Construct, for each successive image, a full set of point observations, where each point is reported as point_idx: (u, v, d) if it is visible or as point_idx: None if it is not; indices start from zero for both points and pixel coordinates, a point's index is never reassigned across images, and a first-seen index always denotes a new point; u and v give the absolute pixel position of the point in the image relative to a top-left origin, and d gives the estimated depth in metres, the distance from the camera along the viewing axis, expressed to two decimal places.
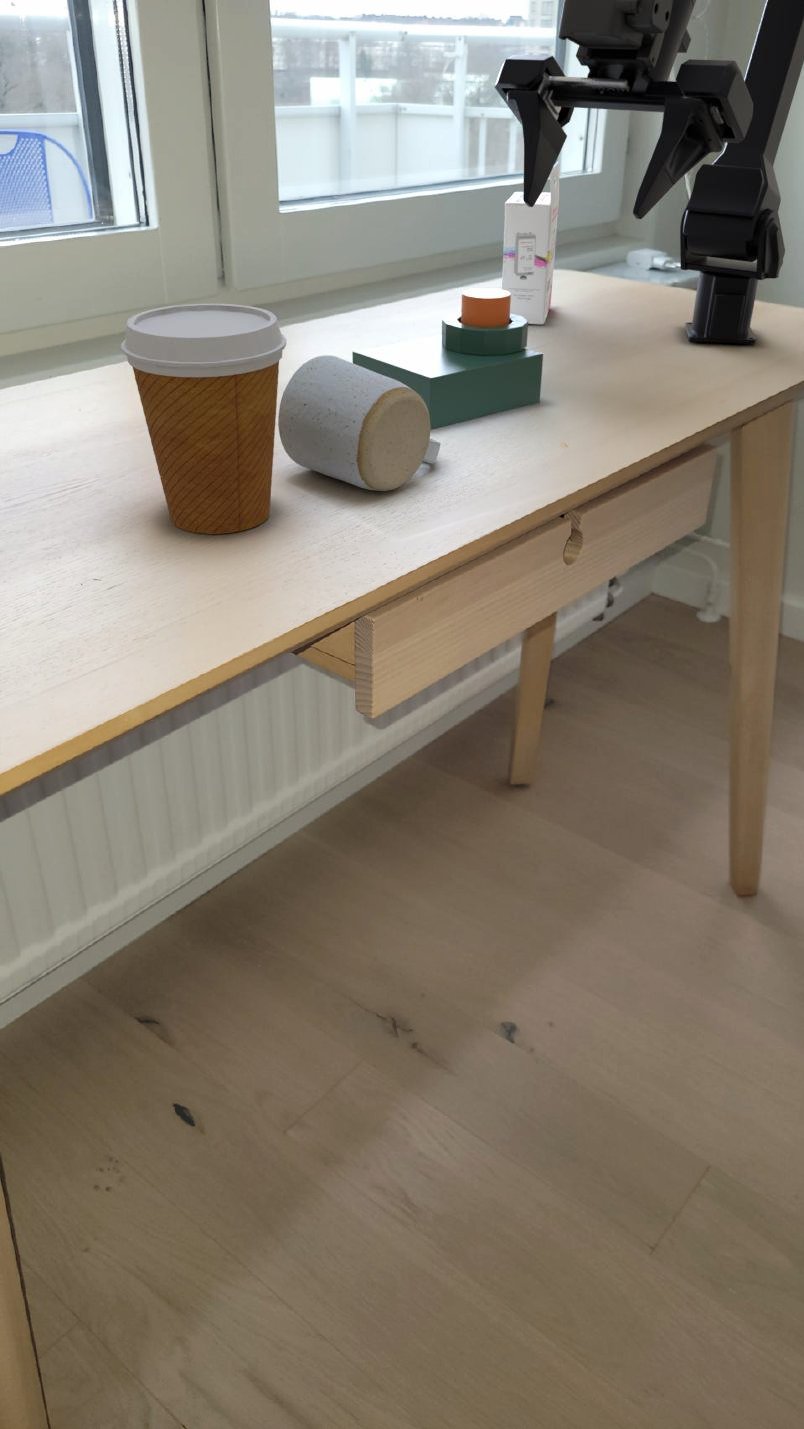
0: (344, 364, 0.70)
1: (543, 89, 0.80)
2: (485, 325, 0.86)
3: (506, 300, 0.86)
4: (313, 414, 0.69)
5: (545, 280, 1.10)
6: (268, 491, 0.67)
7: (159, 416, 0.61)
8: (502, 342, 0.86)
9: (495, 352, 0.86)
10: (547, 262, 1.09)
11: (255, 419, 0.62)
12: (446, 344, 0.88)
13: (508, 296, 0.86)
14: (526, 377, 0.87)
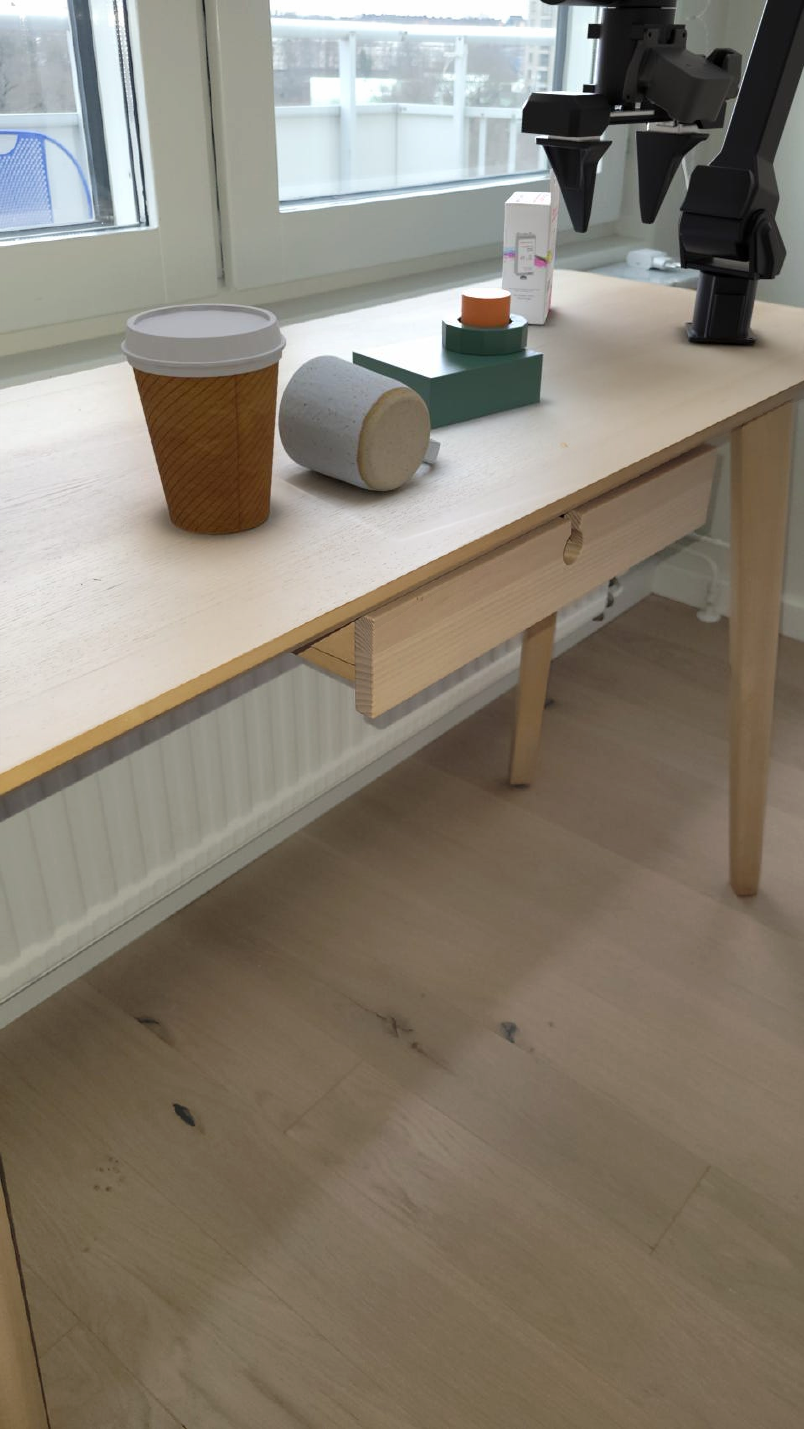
0: (344, 364, 0.70)
1: None
2: (485, 325, 0.86)
3: (506, 300, 0.86)
4: (313, 414, 0.69)
5: (545, 280, 1.10)
6: (268, 491, 0.67)
7: (159, 416, 0.61)
8: (502, 342, 0.86)
9: (495, 352, 0.86)
10: (547, 262, 1.09)
11: (255, 419, 0.62)
12: (446, 344, 0.88)
13: (508, 296, 0.86)
14: (526, 377, 0.87)
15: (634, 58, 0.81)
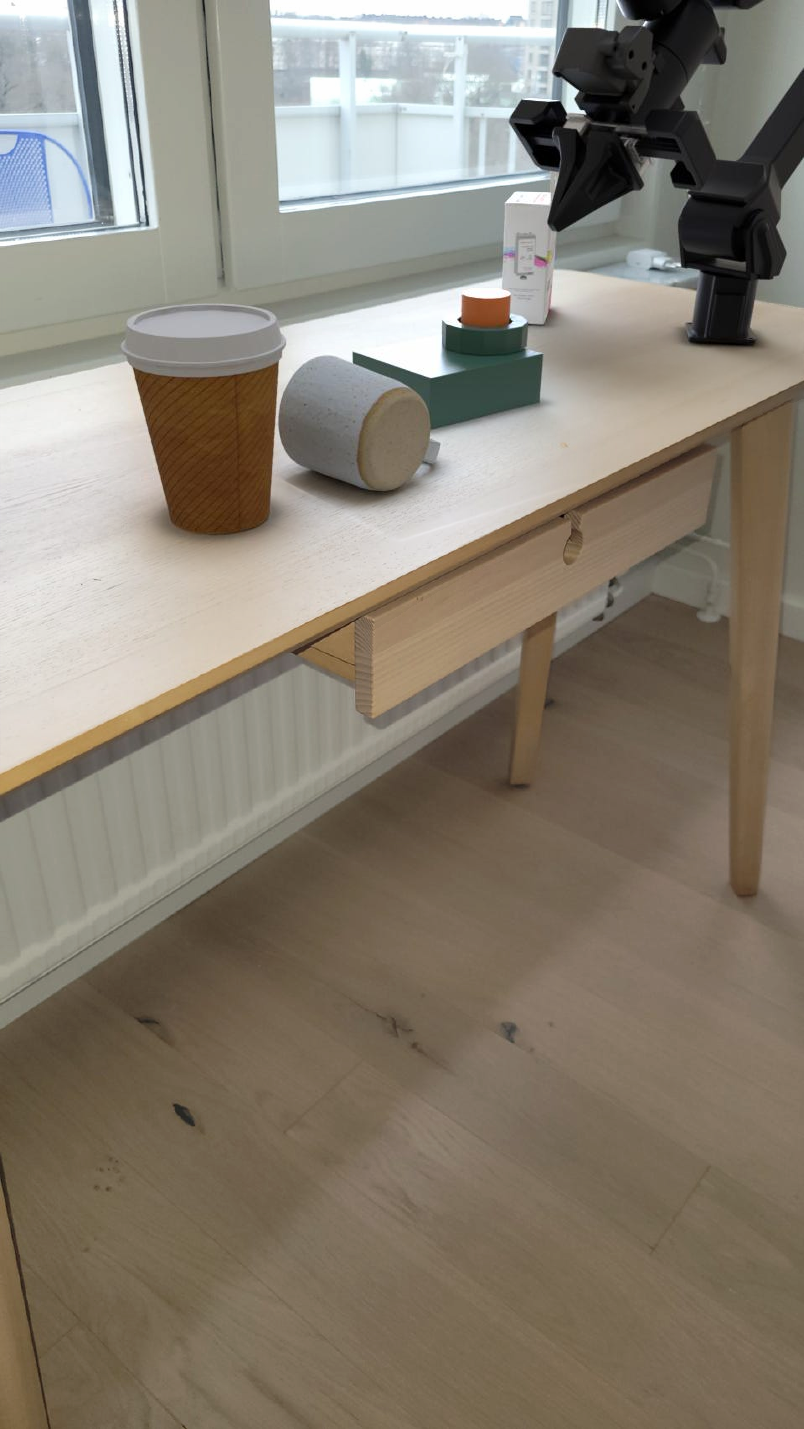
0: (344, 364, 0.70)
1: (585, 131, 0.87)
2: (485, 325, 0.86)
3: (506, 300, 0.86)
4: (313, 414, 0.69)
5: (545, 280, 1.10)
6: (268, 491, 0.67)
7: (159, 416, 0.61)
8: (502, 342, 0.86)
9: (495, 352, 0.86)
10: (547, 262, 1.09)
11: (255, 419, 0.62)
12: (446, 344, 0.88)
13: (508, 296, 0.86)
14: (526, 377, 0.87)
15: None
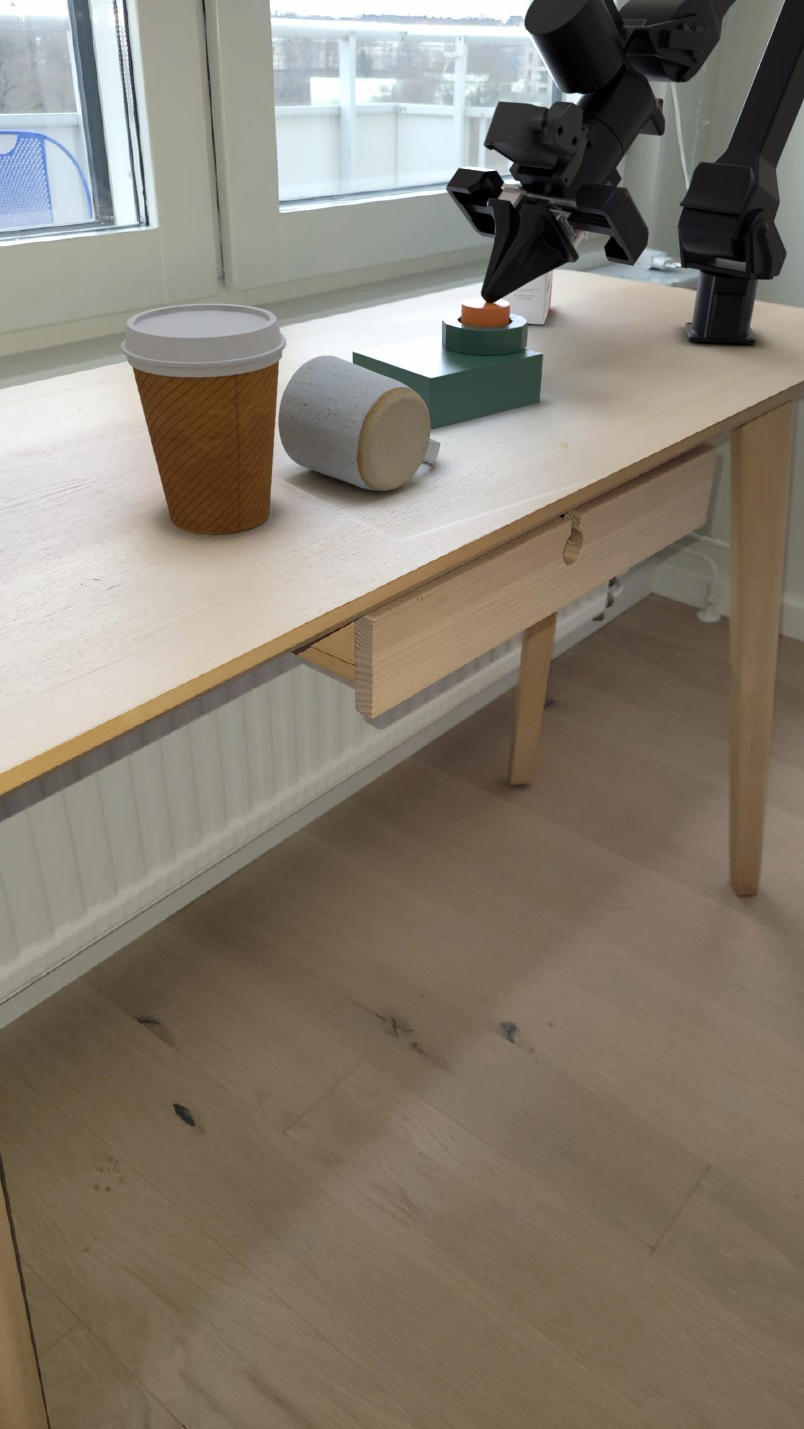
0: (344, 364, 0.70)
1: (519, 202, 0.86)
2: None
3: (505, 310, 0.86)
4: (313, 414, 0.69)
5: (545, 280, 1.10)
6: (268, 491, 0.67)
7: (159, 416, 0.61)
8: (502, 342, 0.86)
9: (495, 352, 0.86)
10: None
11: (255, 419, 0.62)
12: (446, 344, 0.88)
13: (507, 306, 0.87)
14: (526, 377, 0.87)
15: None
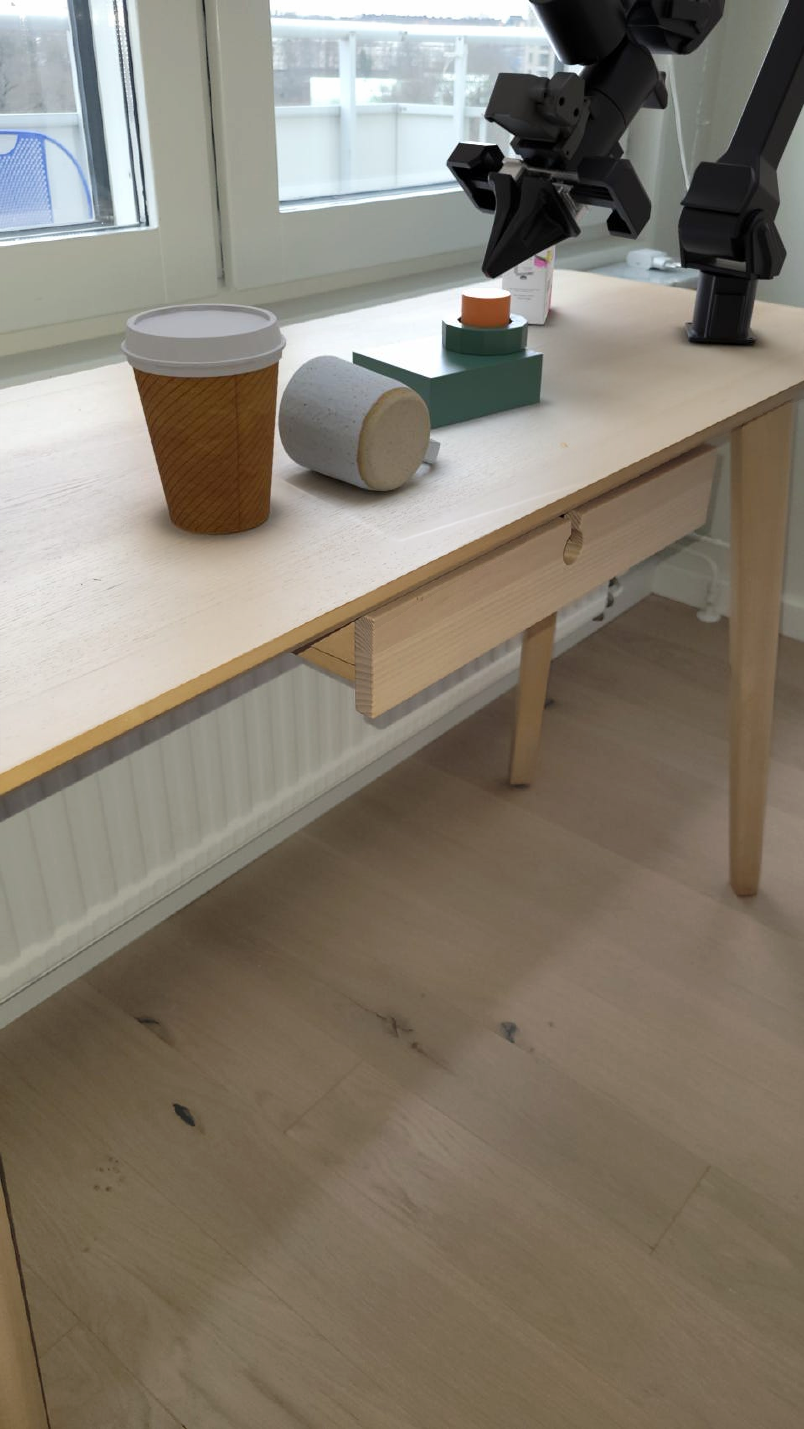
0: (344, 364, 0.70)
1: (520, 176, 0.85)
2: (485, 325, 0.86)
3: (506, 300, 0.86)
4: (313, 414, 0.69)
5: (545, 280, 1.10)
6: (268, 491, 0.67)
7: (159, 416, 0.61)
8: (502, 342, 0.86)
9: (495, 352, 0.86)
10: (547, 262, 1.09)
11: (255, 419, 0.62)
12: (446, 344, 0.88)
13: (508, 296, 0.86)
14: (526, 377, 0.87)
15: None
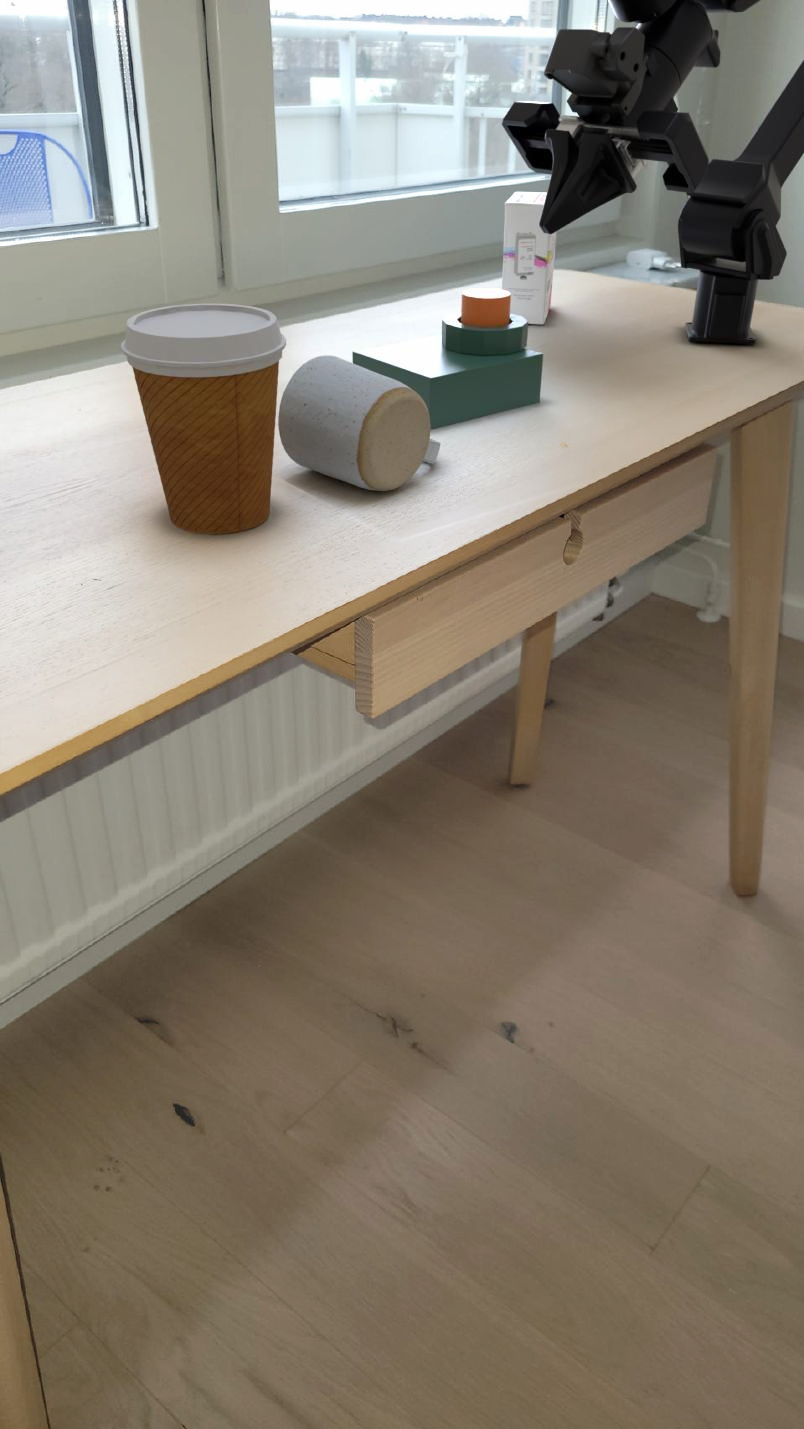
0: (344, 364, 0.70)
1: (577, 133, 0.87)
2: (485, 325, 0.86)
3: (506, 300, 0.86)
4: (313, 414, 0.69)
5: (545, 280, 1.10)
6: (268, 491, 0.67)
7: (159, 416, 0.61)
8: (502, 342, 0.86)
9: (495, 352, 0.86)
10: (547, 262, 1.09)
11: (255, 419, 0.62)
12: (446, 344, 0.88)
13: (508, 296, 0.86)
14: (526, 377, 0.87)
15: None
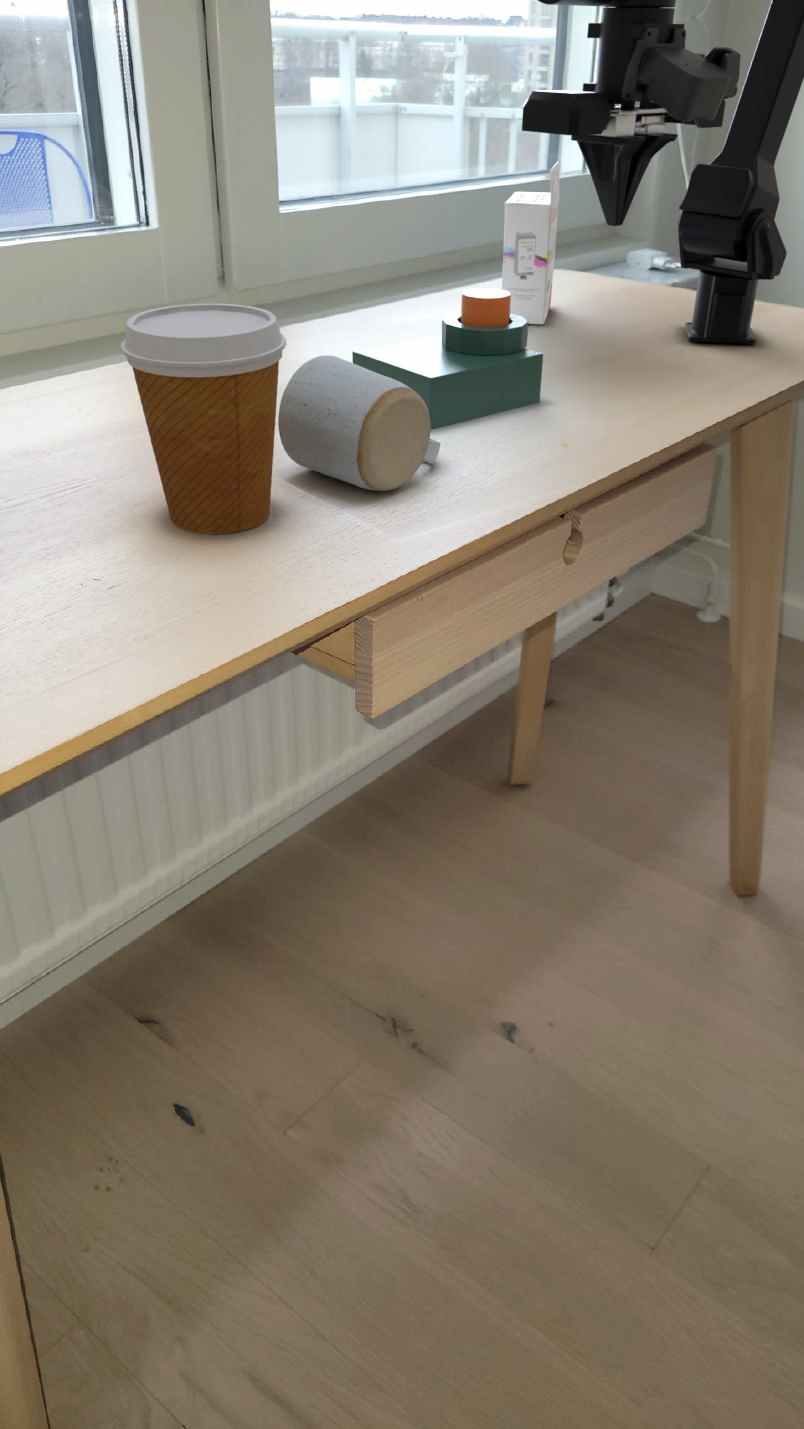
0: (344, 364, 0.70)
1: None
2: (485, 325, 0.86)
3: (506, 300, 0.86)
4: (313, 414, 0.69)
5: (545, 280, 1.10)
6: (268, 491, 0.67)
7: (159, 416, 0.61)
8: (502, 342, 0.86)
9: (495, 352, 0.86)
10: (547, 262, 1.09)
11: (255, 419, 0.62)
12: (446, 344, 0.88)
13: (508, 296, 0.86)
14: (526, 377, 0.87)
15: (634, 57, 0.82)
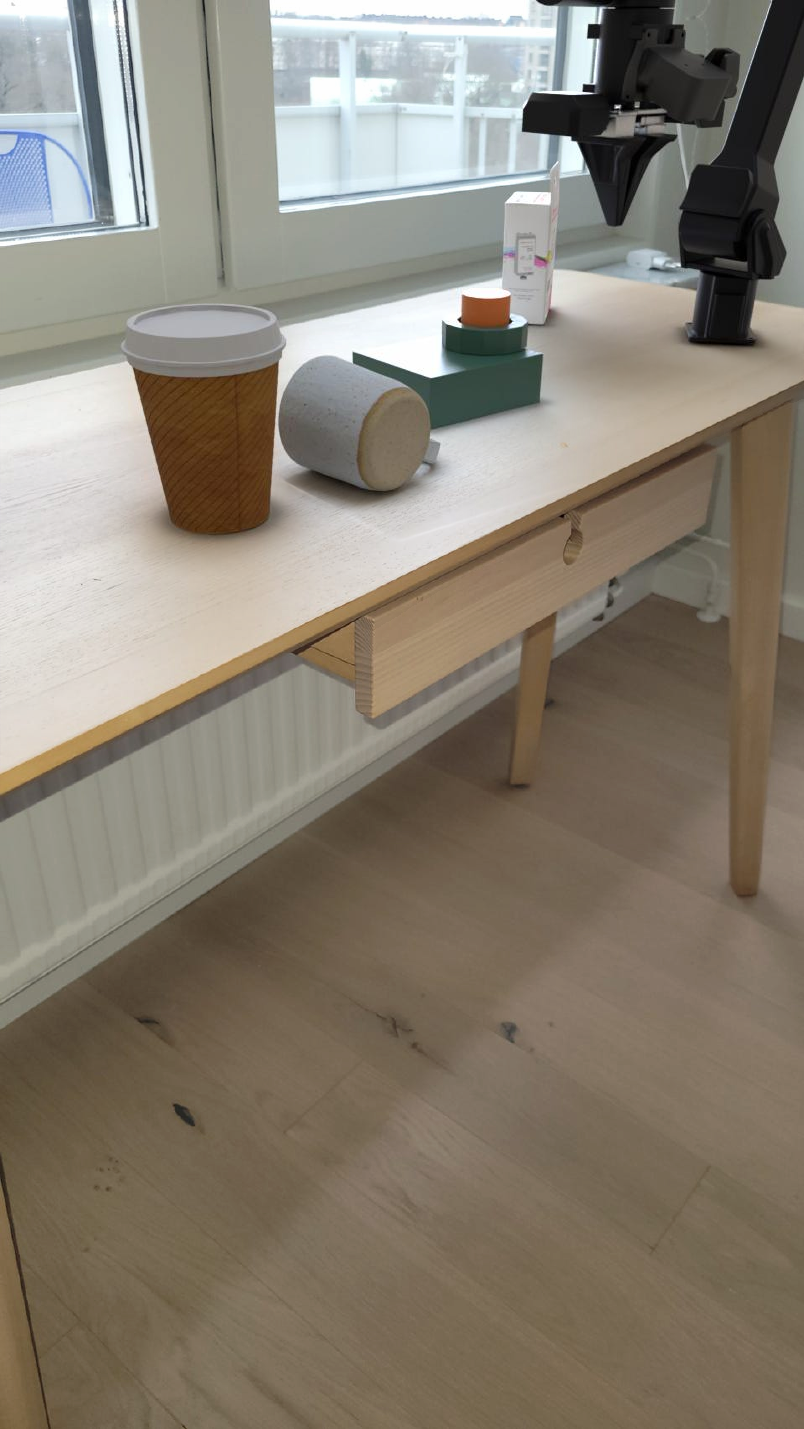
0: (344, 364, 0.70)
1: None
2: (485, 325, 0.86)
3: (506, 300, 0.86)
4: (313, 414, 0.69)
5: (545, 280, 1.10)
6: (268, 491, 0.67)
7: (159, 416, 0.61)
8: (502, 342, 0.86)
9: (495, 352, 0.86)
10: (547, 262, 1.09)
11: (255, 419, 0.62)
12: (446, 344, 0.88)
13: (508, 296, 0.86)
14: (526, 377, 0.87)
15: (633, 58, 0.82)
